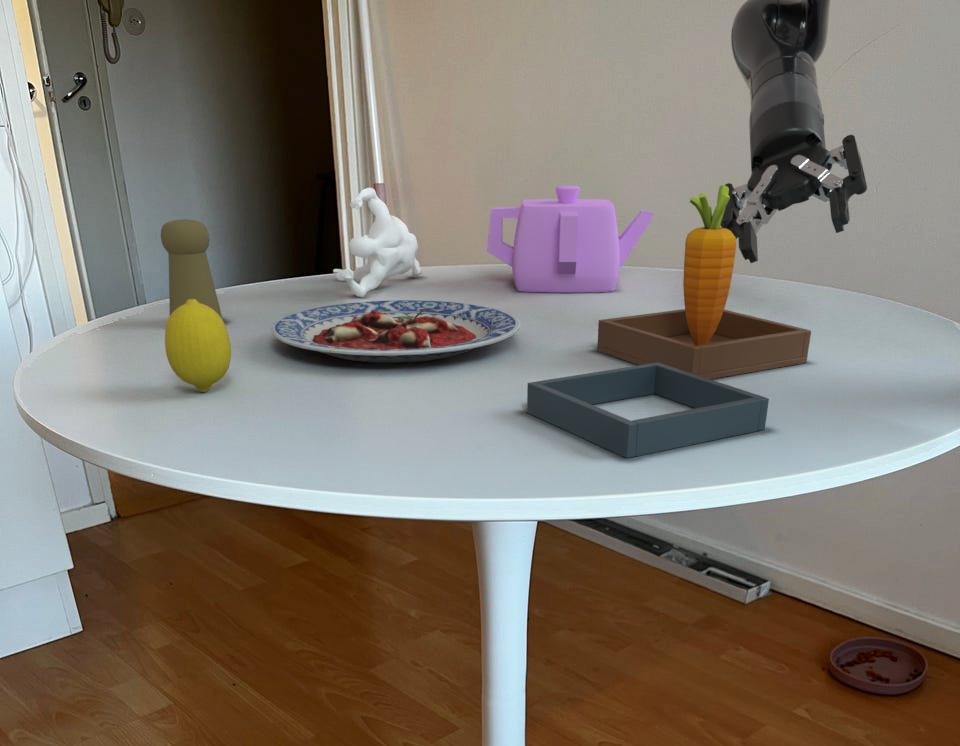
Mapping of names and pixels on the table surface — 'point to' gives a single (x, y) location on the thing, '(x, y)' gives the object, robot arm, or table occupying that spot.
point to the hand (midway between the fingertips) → (793, 241)
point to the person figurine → (380, 248)
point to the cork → (188, 264)
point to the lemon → (197, 345)
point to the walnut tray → (727, 353)
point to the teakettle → (565, 243)
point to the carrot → (708, 268)
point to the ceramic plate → (395, 329)
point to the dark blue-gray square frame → (711, 420)
